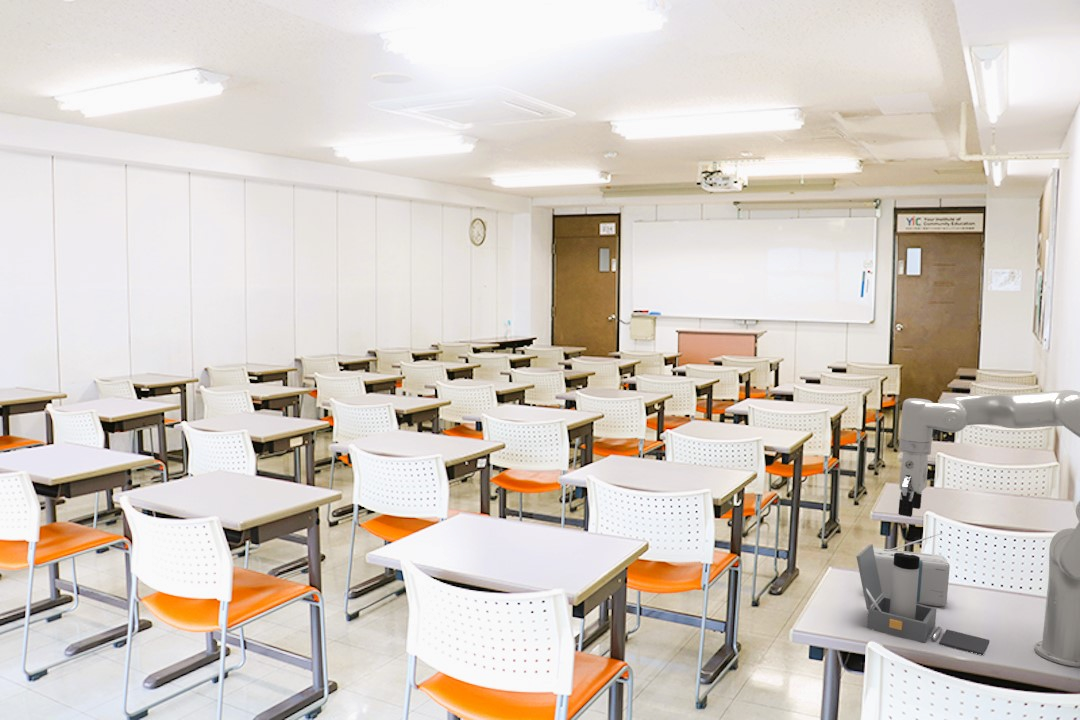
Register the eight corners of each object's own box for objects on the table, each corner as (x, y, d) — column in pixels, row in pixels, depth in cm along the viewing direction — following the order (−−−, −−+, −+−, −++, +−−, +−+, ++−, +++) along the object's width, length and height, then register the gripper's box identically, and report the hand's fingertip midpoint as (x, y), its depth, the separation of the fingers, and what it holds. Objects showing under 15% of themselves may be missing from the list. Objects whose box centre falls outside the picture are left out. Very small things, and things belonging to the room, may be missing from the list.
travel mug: (887, 629, 221) (892, 554, 219) (889, 620, 227) (895, 547, 225) (913, 634, 218) (919, 559, 216) (915, 625, 224) (921, 552, 222)
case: (935, 626, 224) (940, 558, 222) (924, 643, 212) (929, 571, 211) (864, 609, 234) (869, 543, 232) (850, 624, 223) (855, 556, 221)
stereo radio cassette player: (866, 599, 242) (871, 531, 240) (864, 589, 249) (869, 523, 247) (946, 610, 236) (952, 540, 234) (941, 599, 243) (947, 531, 241)
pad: (989, 642, 215) (989, 639, 215) (983, 655, 207) (983, 653, 207) (946, 631, 221) (946, 629, 220) (938, 644, 212) (938, 642, 212)
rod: (942, 631, 221) (942, 626, 221) (935, 642, 214) (936, 637, 214) (937, 629, 221) (937, 625, 221) (930, 640, 214) (930, 636, 214)
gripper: (923, 454, 208) (917, 521, 210) (937, 444, 222) (931, 507, 224) (891, 449, 213) (886, 515, 214) (907, 440, 227) (901, 502, 228)
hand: (909, 511), depth 219 cm, fingers open, 9 cm apart
